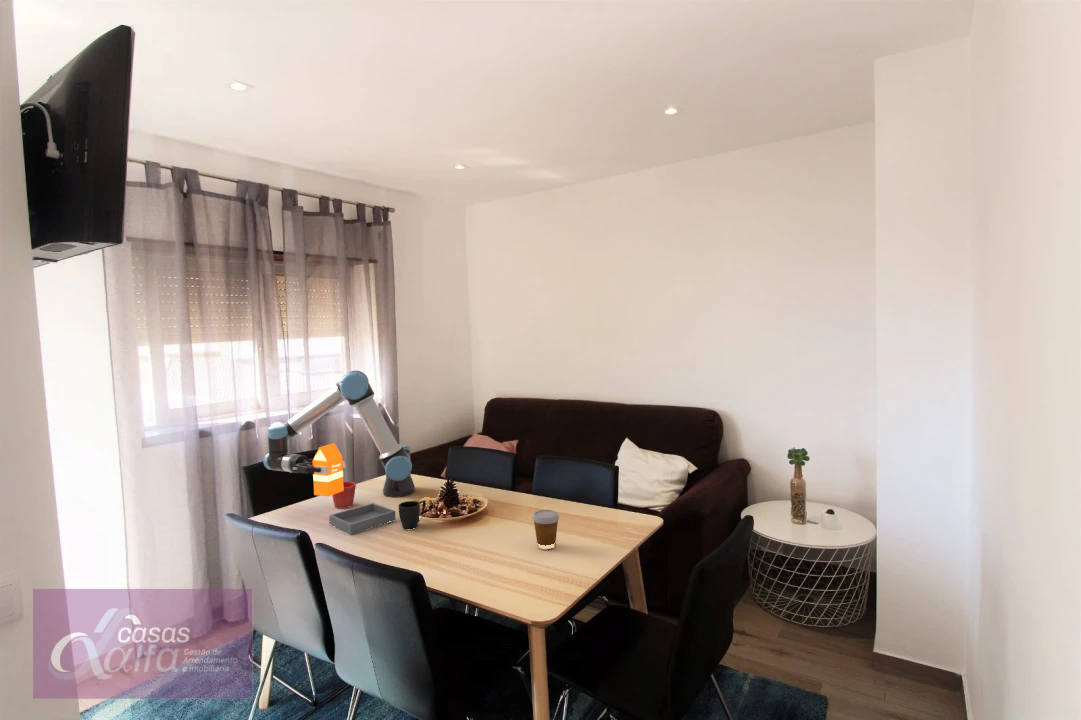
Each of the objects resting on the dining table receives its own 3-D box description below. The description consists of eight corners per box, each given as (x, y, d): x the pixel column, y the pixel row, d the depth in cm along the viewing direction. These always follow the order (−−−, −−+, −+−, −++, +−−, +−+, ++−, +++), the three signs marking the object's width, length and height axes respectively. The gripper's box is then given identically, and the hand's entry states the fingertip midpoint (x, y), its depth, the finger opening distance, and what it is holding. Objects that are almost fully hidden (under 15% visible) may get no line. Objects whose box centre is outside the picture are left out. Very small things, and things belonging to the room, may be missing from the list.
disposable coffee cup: (540, 554, 181) (540, 520, 181) (528, 544, 190) (527, 512, 189) (564, 548, 186) (564, 515, 185) (551, 539, 194) (551, 507, 193)
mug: (432, 523, 213) (431, 500, 212) (408, 533, 203) (407, 508, 203) (419, 519, 218) (418, 497, 217) (395, 528, 209) (394, 504, 208)
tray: (373, 511, 229) (373, 502, 229) (395, 520, 218) (395, 510, 217) (329, 525, 214) (329, 515, 214) (350, 535, 203) (350, 524, 202)
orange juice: (313, 494, 216) (311, 446, 215) (329, 488, 224) (327, 442, 223) (328, 496, 213) (326, 448, 212) (344, 490, 221) (342, 443, 220)
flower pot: (347, 500, 246) (346, 480, 245) (361, 504, 239) (360, 483, 239) (326, 506, 237) (325, 485, 237) (340, 511, 231) (339, 489, 230)
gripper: (315, 465, 235) (355, 469, 226) (274, 478, 215) (316, 483, 206) (314, 449, 234) (354, 452, 226) (273, 460, 214) (315, 464, 206)
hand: (336, 467), depth 216 cm, fingers closed on orange juice, 9 cm apart
